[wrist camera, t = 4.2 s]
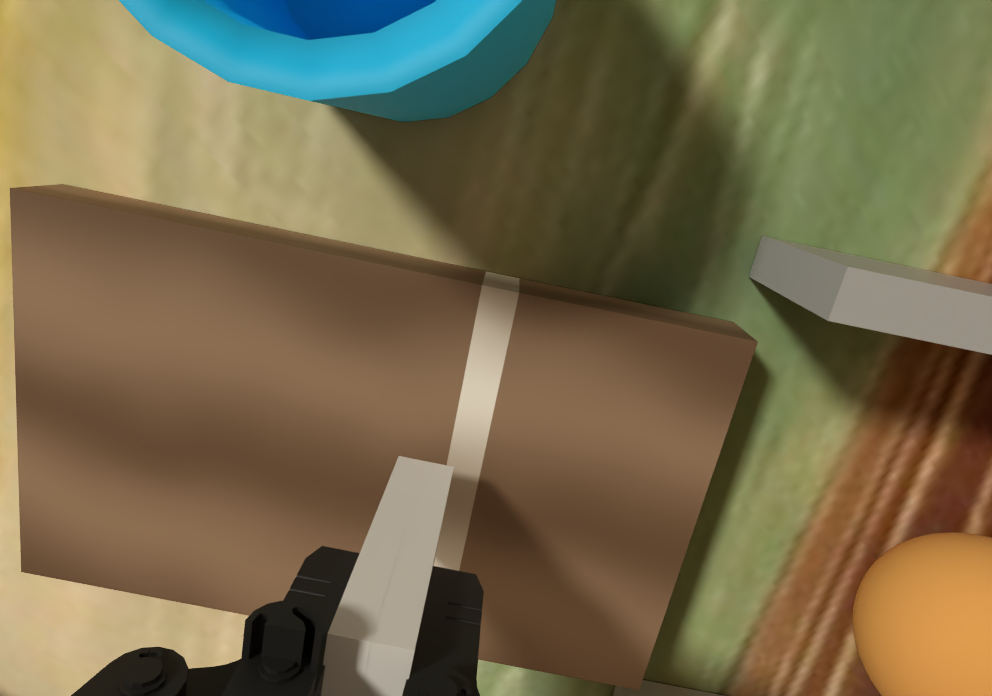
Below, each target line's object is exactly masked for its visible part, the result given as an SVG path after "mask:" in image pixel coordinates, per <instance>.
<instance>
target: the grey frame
mask: <svg viewBox="0 0 992 696" xmlns="http://www.w3.org/2000/svg"><path fill="white" fill-rule="evenodd" d="M749 277H750V278H752V279H754V280H756V281H757V282H759V283H761V284H763V285H764V286H766V287H768V288H770V289H772V290H773V291H775V292H777V293H779V294H781V295H782V296H784V297H786V298H788V299H790V300H791V301H793V302H795V303H797V304H799V305H800V306H802V307H804V308H806V309H807V310H809V311H811V312H813V313H815V314H816V315H818V316H820V317H822V318H824V319H825V320H827V321H831V322H836V323H841V324H845V325H850V326H855V327H860V328H865V329H870V330H875V331H879V332H884V333H889V334H894V335H899V336H904V337H908V338H913V339H918V340H923V341H928V342H933V343H937V344H942V345H947V346H952V347H957V348H962V349H966V350H971V351H976V352H981V353H986V354H991V355H992V284H989V283H985V282H980V281H975V280H970V279H965V278H961V277H956V276H951V275H946V274H942V273H937V272H932V271H927V270H922V269H918V268H913V267H908V266H903V265H899V264H894V263H889V262H884V261H879V260H875V259H870V258H865V257H860V256H856V255H851V254H846V253H841V252H836V251H832V250H827V249H822V248H817V247H813V246H808V245H803V244H798V243H793V242H789V241H784V240H779V239H774V238H770V237H765V236H762V238H761V241H760V244H759V247H758V250H757V253H756V256H755V259H754V262H753V265H752V268H751V271H750V275H749ZM613 696H724V695H719V694H714V693H708V692H703V691H698V690H693V689H688V688H682V687H677V686H672V685H667V684H662V683H656V682H651V681H646V680H642V683H641V686H640V689H639V690H636V689H630V688H625V687H620V686H615V689H614V693H613Z"/></svg>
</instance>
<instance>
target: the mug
mask: <svg viewBox="0 0 992 696" xmlns="http://www.w3.org/2000/svg"><path fill="white" fill-rule="evenodd" d="M119 1H120V2H121V3H122V4H123V5H124V6H125V7H126V9H127V10H128V11H129V12H130V13H131V14H132V15H133V16H134V17H135V18H136V19H137V20H138V21H139V22H140V24H141V25H142V26H143V27H144V28H145V29H146V30H147V31H148V32H149V33H150V34H151V35H152V36H153V37H155V38H156V39H158V40H160V41H161V42H163V43H165V44H166V45H168V46H170V47H171V48H173V49H175V50H176V51H178V52H180V53H181V54H183V55H185V56H186V57H188V58H190V59H191V60H193V61H195V62H196V63H198V64H200V65H201V66H203V67H205V68H206V69H208V70H210V71H211V72H213V73H215V74H216V75H218V76H220V77H221V78H223V79H225V80H226V81H228V82H232V83H236V84H240V85H245V86H249V87H253V88H257V89H262V90H266V91H270V92H275V93H279V94H283V95H287V96H292V97H296V98H300V99H304V100H309V101H313V102H317V103H322V104H326V105H330V106H335V107H339V108H344V109H348V110H352V111H357V112H361V113H365V114H370V115H374V116H379V117H383V118H387V119H392V120H396V121H400V122H408V121H418V120H428V119H437V118H447V117H450V116H453V115H455V114H457V113H459V112H461V111H463V110H465V109H468V108H470V107H472V106H474V105H476V104H478V103H480V102H482V101H485V100H487V99H489V98H491V97H492V96H493V95H494V94H495V93H496V92H497V91H498V90H499V89H501V88H502V87H503V86H504V85H505V84H506V83H507V82H508V81H509V80H510V79H511V78H512V77H513V76H514V75H515V74H516V73H517V72H518V71H519V70H520V69H522V68H523V67H524V66H525V65H526V64H527V62H528V60H529V59H530V57H531V55H532V53H533V51H534V50H535V48H536V46H537V44H538V42H539V41H540V39H541V37H542V35H543V33H544V32H545V30H546V28H547V26H548V24H549V23H550V21H551V19H552V16H553V12H554V7H555V3H556V0H119Z"/></svg>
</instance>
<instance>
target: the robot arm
mask: <svg viewBox="0 0 992 696" xmlns="http://www.w3.org/2000/svg"><path fill="white" fill-rule="evenodd" d="M453 468H454V467H452V466H447V465H442V464H437V463H432V462H427V461H422V460H417V459H412V458H407V457H402V456H399V457H398V459H397V462H396V464H395V466H394V469H393V471H392V474H391V476H390V479H389V481H388V484H387V486H386V489H385V491H384V494H383V496H382V499H381V501H380V504H379V506H378V509H377V511H376V514H375V516H374V519H373V521H372V524H371V526H370V529H369V531H368V534H367V536H366V539H365V541H364V544H363V546H362V549H361V551H360V553H357V552H351V551H346V550H341V549H336V548H331V547H326V546H321V547H320V548H318V549H317V550H316V551H314V552H313V553H312V554H310V555H309V556H308V557H306V558H305V560H304V562H303V564H302V566H301V568H300V570H299V572H298V573H297V577H295V579H294V581H293V583H292V585H291V587H290V590H289V591H288V592H287V594H286V596H285V598H284V600H283V601H278V602H273V603H268V604H266V605H264V606H262V607H260V608H258V609H256V610H254V611H253V612H252V614H251V615H250V616H249V617H248V618H247V619H246V620H245V629H244V639H243V649H242V658H241V659H240V660H238V661H235V662H232V663H229V664H226V665H221V666H215V667H205V668H192V669H188V666H187V664H186V662H185V660H184V657H182V656H181V655H179V654H178V653H177V652H175V651H174V650H171V649H166V648H162V647H149V648H140V649H137V650H134V651H131V652H128V653H125V654H123V655H122V656H120V657H119V658H117V659H115V660H114V661H112V662H111V663H109V664H108V665H107V666H106V667H105V668H103V669H102V670H101V671H100V672H99V673H97V674H96V675H95V676H94V677H93V678H92V679H90V680H89V681H88V682H87V683H86V684H84V685H83V686H82V687H81V688H80V689H78V690H77V691H76V692H75V693H74V694H73V695H71V696H480V694H479V692H478V689H477V680H476V676H477V665H478V653H479V641H480V629H481V618H482V606H483V594H484V591H483V588H482V586H481V584H480V582H479V580H478V577H477V575H476V574H472V573H467V572H462V571H457V570H452V569H447V568H442V567H437V566H434V562H435V557H436V552H437V547H438V542H439V537H440V532H441V527H442V522H443V518H444V513H445V508H446V503H447V498H448V493H449V488H450V483H451V478H452V473H453Z"/></svg>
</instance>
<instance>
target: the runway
mask: <svg viewBox="0 0 992 696" xmlns="http://www.w3.org/2000/svg"><path fill="white" fill-rule="evenodd" d="M10 207H11V241H12V274H13V307H14V341H15V374H16V407H17V441H18V474H19V507H20V541H21V572H25V573H30V574H35V575H41V576H46V577H51V578H56V579H61V580H67V581H72V582H77V583H82V584H88V585H93V586H98V587H103V588H108V589H114V590H119V591H124V592H129V593H135V594H140V595H145V596H150V597H155V598H161V599H166V600H171V601H176V602H181V603H187V604H192V605H197V606H202V607H208V608H213V609H218V610H223V611H228V612H234V613H239V614H244V615H249V616H250V615H251V614H252V612H253V611H254V610H256V609H258V608H260V607H262V606H264V605H266V604H268V603H273V602H278V601H283V600H284V598H285V596H286V594H287V592H288V591H289V590H290V587H291V585H292V583H293V581H294V579H295V577H297V573H298V572H299V570H300V568H301V566H302V564H303V562H304V560H305V558H306V557H308V556H309V555H310V554H312V553H313V552H314V551H316V550H317V549H318V548H320V547H321V546H326V547H331V548H336V549H341V550H346V551H351V552H357V553H360V551H361V549H362V546H363V544H364V541H365V539H366V536H367V534H368V531H369V529H370V526H371V524H372V521H373V519H374V516H375V514H376V511H377V509H378V506H379V504H380V501H381V499H382V496H383V494H384V491H385V489H386V486H387V484H388V481H389V479H390V476H391V474H392V471H393V469H394V466H395V464H396V462H397V459H398V457H399V456H402V457H407V458H412V459H417V460H422V461H427V462H432V463H437V464H442V465H447V466H452V467H454V468H453V473H452V478H451V483H450V488H449V493H448V498H447V503H446V508H445V513H444V518H443V522H442V527H441V532H440V537H439V542H438V547H437V552H436V557H435V562H434V566H437V567H442V568H447V569H452V570H457V571H462V572H467V573H472V574H476V575H477V577H478V580H479V582H480V584H481V586H482V588H483V591H484V594H483V606H482V618H481V629H480V641H479V653H478V659H479V660H484V661H489V662H495V663H500V664H505V665H510V666H516V667H521V668H526V669H531V670H536V671H542V672H547V673H552V674H557V675H563V676H568V677H573V678H578V679H583V680H589V681H594V682H599V683H604V684H610V685H615V686H620V687H625V688H630V689H636V690H639V689H640V686H641V683H642V680H643V677H644V675H645V672H646V669H647V666H648V663H649V660H650V657H651V654H652V651H653V648H654V645H655V642H656V639H657V636H658V633H659V630H660V628H661V625H662V622H663V619H664V616H665V613H666V610H667V607H668V604H669V601H670V598H671V595H672V592H673V589H674V586H675V583H676V581H677V578H678V575H679V572H680V569H681V566H682V563H683V560H684V557H685V554H686V551H687V548H688V545H689V542H690V539H691V536H692V534H693V531H694V528H695V525H696V522H697V519H698V516H699V513H700V510H701V507H702V504H703V501H704V498H705V495H706V492H707V489H708V487H709V484H710V481H711V478H712V475H713V472H714V469H715V466H716V463H717V460H718V457H719V454H720V451H721V448H722V445H723V442H724V440H725V437H726V434H727V431H728V428H729V425H730V422H731V419H732V416H733V413H734V410H735V407H736V404H737V401H738V398H739V395H740V393H741V390H742V387H743V384H744V381H745V378H746V375H747V372H748V369H749V366H750V363H751V360H752V357H753V354H754V351H755V348H756V346H757V343H758V342H757V341H756V340H755V339H754V338H753V337H751V336H750V335H749V334H748V333H746V332H745V331H744V330H743V329H741V328H740V327H739V326H738V325H737V324H735V323H734V322H730V321H725V320H720V319H715V318H710V317H705V316H700V315H696V314H691V313H686V312H681V311H676V310H671V309H666V308H662V307H657V306H652V305H647V304H642V303H637V302H632V301H628V300H623V299H618V298H613V297H608V296H603V295H598V294H594V293H589V292H584V291H579V290H574V289H569V288H564V287H560V286H555V285H550V284H545V283H540V282H535V281H530V280H526V279H521V278H516V277H511V276H506V275H501V274H496V273H492V272H487V271H482V270H477V269H472V268H467V267H462V266H458V265H453V264H448V263H443V262H438V261H433V260H428V259H424V258H419V257H414V256H409V255H404V254H399V253H394V252H389V251H385V250H380V249H375V248H370V247H365V246H360V245H355V244H351V243H346V242H341V241H336V240H331V239H326V238H321V237H317V236H312V235H307V234H302V233H297V232H292V231H287V230H283V229H278V228H273V227H268V226H263V225H258V224H253V223H249V222H244V221H239V220H234V219H229V218H224V217H219V216H215V215H210V214H205V213H200V212H195V211H190V210H185V209H181V208H176V207H171V206H166V205H161V204H156V203H151V202H147V201H142V200H137V199H132V198H127V197H122V196H117V195H113V194H108V193H103V192H98V191H93V190H88V189H83V188H79V187H74V186H69V185H64V184H59V185H46V186H33V187H19V188H10Z"/></svg>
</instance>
